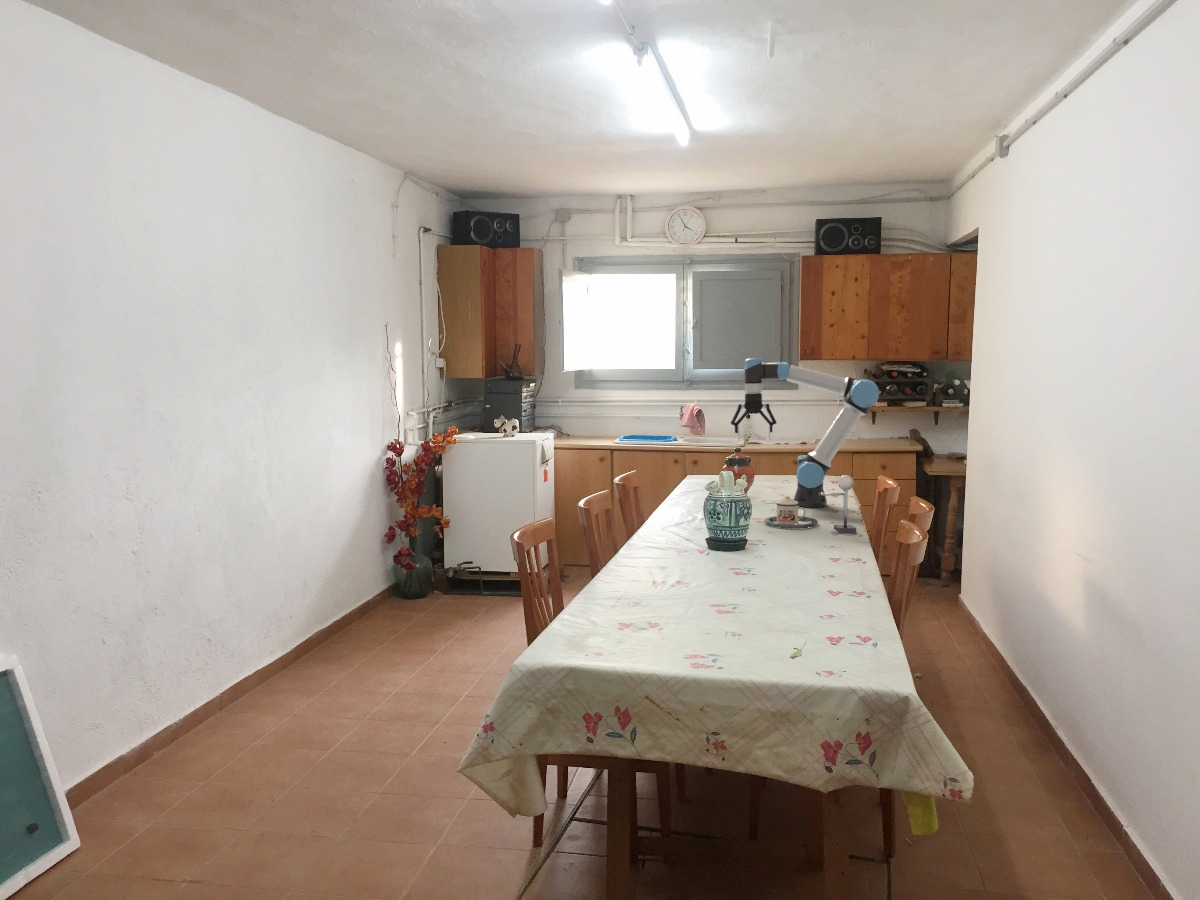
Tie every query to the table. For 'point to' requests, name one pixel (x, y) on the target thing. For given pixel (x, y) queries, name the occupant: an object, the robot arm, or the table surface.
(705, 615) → the table surface
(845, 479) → the dial gauge stand
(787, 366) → the robot arm
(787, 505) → the teacup with lid
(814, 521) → the centring ring
